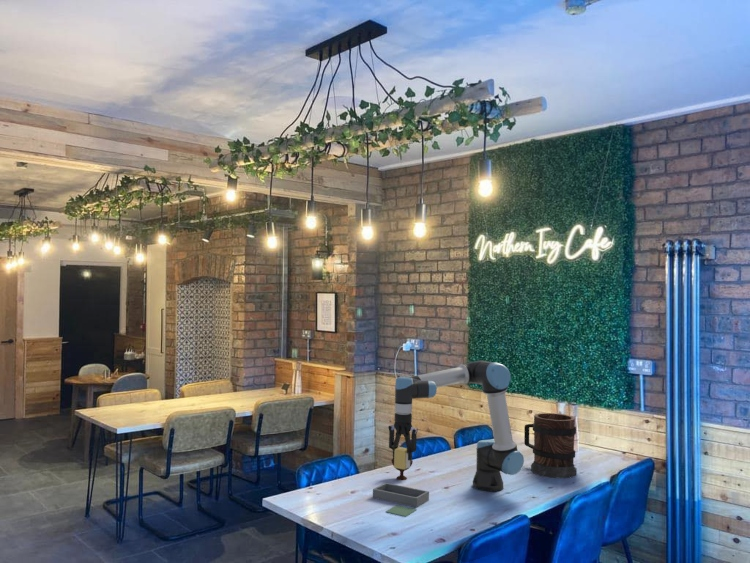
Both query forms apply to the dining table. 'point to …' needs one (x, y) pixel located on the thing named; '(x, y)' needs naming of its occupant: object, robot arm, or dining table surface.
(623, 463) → the dining table surface
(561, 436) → the wooden beer tankard
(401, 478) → the ice cream bowl
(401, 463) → the mustard block
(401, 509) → the green pad
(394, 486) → the charcoal bin
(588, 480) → the dining table surface
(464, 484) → the dining table surface
